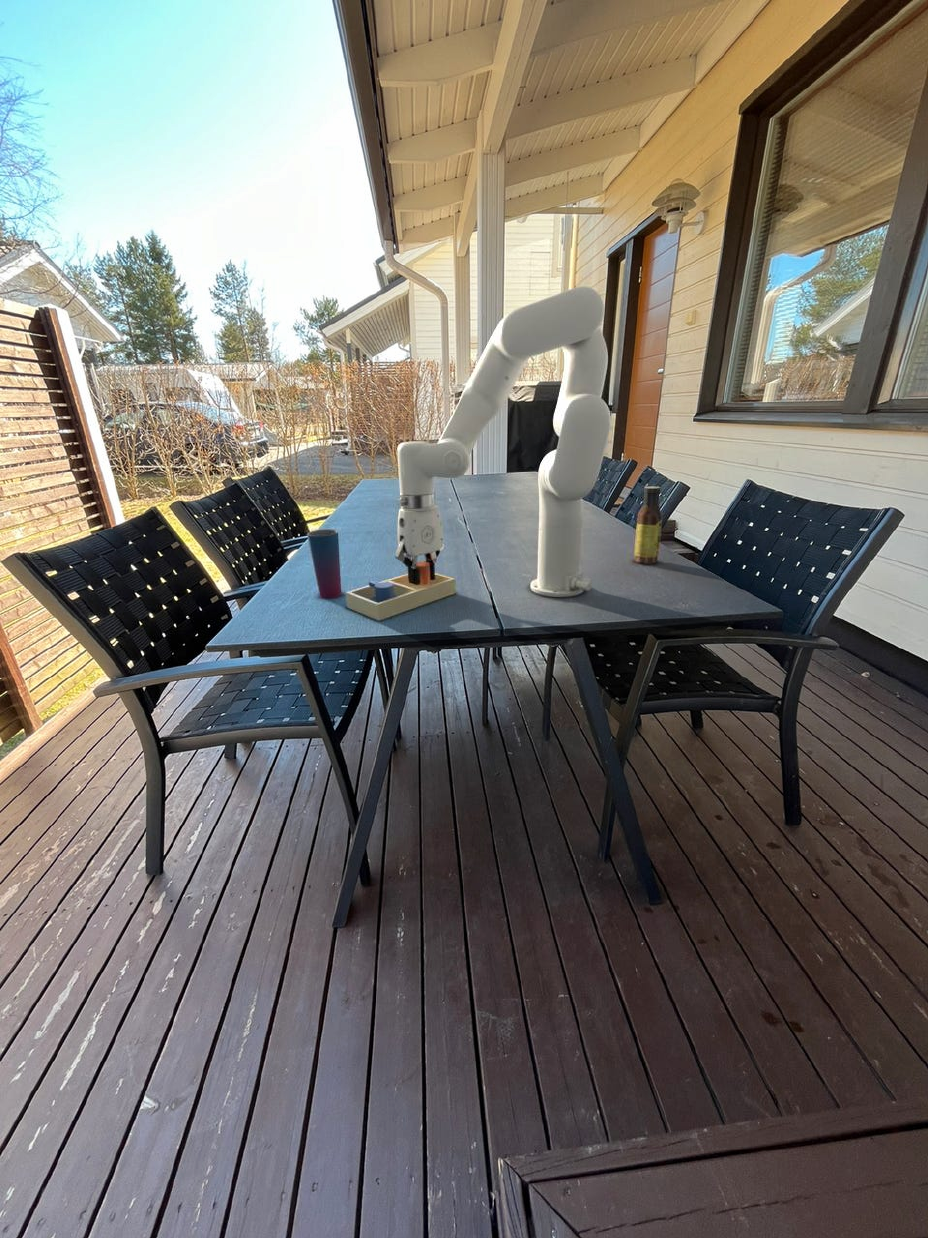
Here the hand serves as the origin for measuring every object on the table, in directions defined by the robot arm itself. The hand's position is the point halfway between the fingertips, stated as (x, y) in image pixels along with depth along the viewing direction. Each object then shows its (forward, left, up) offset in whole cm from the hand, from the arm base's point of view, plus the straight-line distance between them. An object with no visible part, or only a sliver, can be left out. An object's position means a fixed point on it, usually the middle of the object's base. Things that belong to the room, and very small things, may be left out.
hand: (422, 580), depth 121 cm
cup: (+17, +14, -4) cm, 22 cm away
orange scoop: (+1, 0, 0) cm, 1 cm away
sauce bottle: (-26, -58, -4) cm, 63 cm away
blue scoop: (+1, +11, -3) cm, 11 cm away
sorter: (+1, +5, -4) cm, 6 cm away
